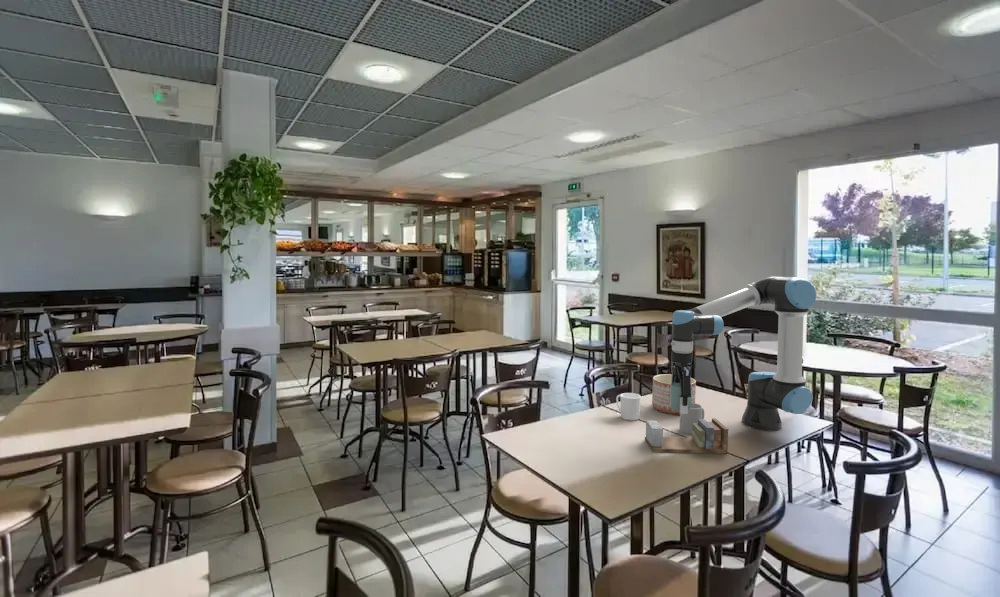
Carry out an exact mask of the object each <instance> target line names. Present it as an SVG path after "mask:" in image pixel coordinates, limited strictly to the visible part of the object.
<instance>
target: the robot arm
mask: <svg viewBox="0 0 1000 597" xmlns="http://www.w3.org/2000/svg"><path fill="white" fill-rule="evenodd" d="M816 300H817V291H816V287H815V286H814V284H813V283H812V282H811V281H810V280H808V279H806V278H800V277H797V276H796V277H795V276H793V277H792V276H777V275H776V276H769V277H765V278H762V279H759V280H756V281H754V282H751V283H748V284H745V285H744V286H743V288H742V289H739V290H736V291H735V292H732V293H729V294H727V295H725V296H721V297H718V298H716V299H714V300H711V301H708V302H706V303H704V304H701V305H699V306H696V307H693V308H690V309H686V310H684V309H683V310H682V309H680V310H678V309H677V310H675V311H674V312H673V313H672V314H673V315H672V322H671V324H672V326H671V327H672V329H671V332H672V333H671V334H672V335H671V338H672V339H671V342H670V346H671V350H672V351H671V357H670V358H671V362H672V372H671V373H672V383H674V382H675V383H680V386H681V395H680V414H688V397H691V378H692V377H691V376H692V375H691V374H692V370H691V369H689V367H688V364H692V362H693V358H694V357H693V356H694V355H693V352H694V337H695V336H715V335H719V334H722V332H723V331H724V328H725V327H724V325H725V324H724V320H723V318H722V317H726V316H727V315H730V314H733V313H735V312H736V313H737V312H738V311H742V310H744V309H745V308H748V307H751V306H752V307H757V306H760V305H761V306H762V305H774V309H773V310H774V312H775V313H776V314H777V315H778V319H777V320H778V321H777V322H778V325H777V326H778V328H777V329H778V330H777V354H776V355H777V357H776V359H777V361H776V363H777V364H776V372H775V371H772V372H771V371H752V372H749V375H748V380H747V403H746V406H745V409H744V411H743V414H742V417H741V423H742V424H743V425H745V426H746V427H749V428H752V429H755V430H762V431H778V430H781V429H782V420H781V416H780V413H779V410H781V411H784V412H786V413H790V414H792V415H801V414H803V413H804V412H806V411H807V410H808V409H809V408H810V406H811V405H812V402H813V400H814V397H813V396H814V395H813V392H812V391H811V389H810V388H808V387H807V380H806V378H805V377H804V376H803V350H804V348H803V345H804V343H803V342H804V319H805V318H804V316H805V315H807V314H808V313H809V309H810V308H811V307H812V306H813V305H814V303H815V302H816ZM686 393H687V394H686ZM778 409H779V410H778Z"/></svg>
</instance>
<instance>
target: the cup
mask: <svg viewBox="0 0 1000 597" xmlns="http://www.w3.org/2000/svg"><path fill="white" fill-rule="evenodd" d="M686 394H687V393H686ZM680 395H681V386H680V383H675V382H674V383H671V385H670V402H671V406H672V408H673V409H674V410H675V411H679V412H680ZM691 401H692V385H691V397H688V410H689V409H690V406H691Z"/></svg>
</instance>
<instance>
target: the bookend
mask: <svg viewBox="0 0 1000 597" xmlns="http://www.w3.org/2000/svg"><path fill="white" fill-rule="evenodd" d="M645 422H646V423H645V437H646V439H647V440H648V442H649V443H650V445H651V446H652V447H663V437H664V428H663V427H662V425H661V424H660V423H659V422H658V421H657V420H650V419H649V420H646V421H645Z"/></svg>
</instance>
